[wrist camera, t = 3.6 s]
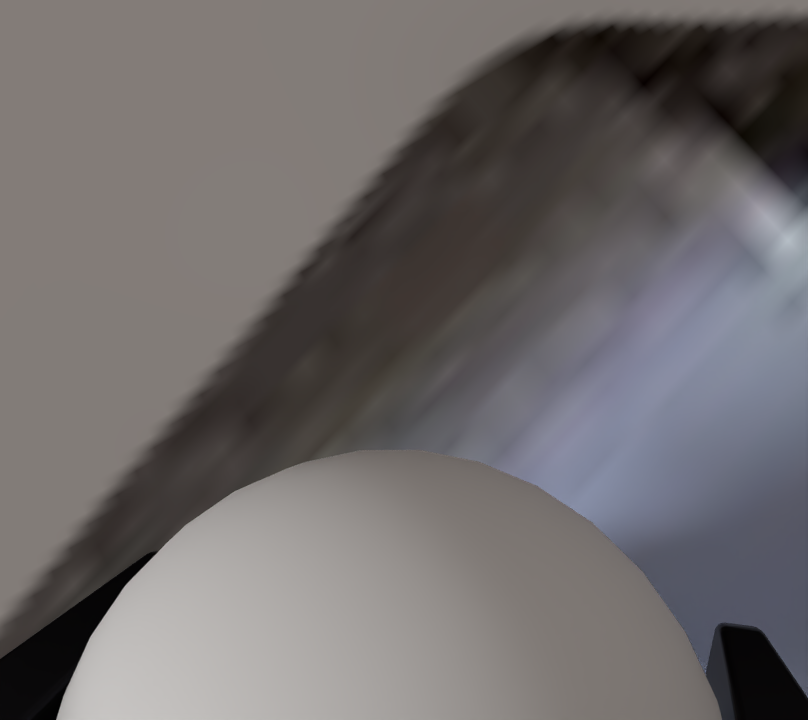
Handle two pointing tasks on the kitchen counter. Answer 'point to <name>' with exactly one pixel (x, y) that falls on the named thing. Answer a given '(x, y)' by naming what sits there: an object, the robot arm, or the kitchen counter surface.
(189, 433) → the kitchen counter surface
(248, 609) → the lightbulb
